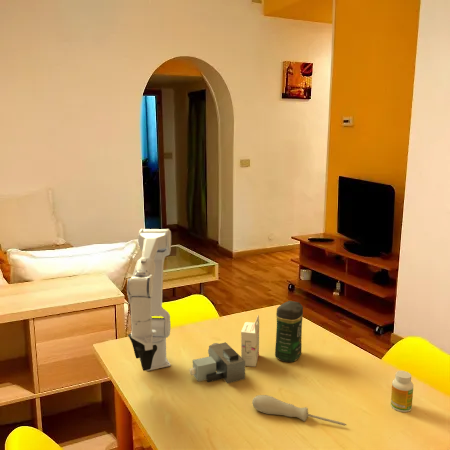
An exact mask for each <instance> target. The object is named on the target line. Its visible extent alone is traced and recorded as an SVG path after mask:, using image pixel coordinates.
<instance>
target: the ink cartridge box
mask: <svg viewBox="0 0 450 450" xmlns="http://www.w3.org/2000/svg"><path fill="white" fill-rule="evenodd" d="M240 343H241V345H240V346H241V349H240V350H241V351H240V352H241V355H240V356H241V357H242V358H243V359H244V360H245V367H256V366H257V363H258V360H259V356H260V316H259V314H258V315H257V316H256V319H255V321H254V322H250V321H245V322H244V324H243V327H242V328H241V331H240Z"/></svg>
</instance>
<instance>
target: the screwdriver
mask: <svg viewBox="0 0 450 450" xmlns="http://www.w3.org/2000/svg"><path fill="white" fill-rule="evenodd" d="M251 401H252V403H251V404H252V406H253V408H254V409H256V411H258V412H261V413H263V414H266V415H278V416H285V417H288V418H292V417H294V418H297V419H300V420H301V421H303V422H306V421H307V419H308V417H309V418H314V419H317V420H320V421H325V422H329V423H333V424H337V425H340V426H345V427H346V426H347V424H346V423H344V422H341V421H338V420H335V419H334V420H333V419H330V418H326V417H322V416H318V415H314V414H310V413H309V408H308V407H307V406H306V407H298V406H295V405H294V404H293V403H292V404H291V403H288V402H285V401H282V400H280V399H278V398H276V397H274V396H271V395H267V394H260V395H259V394H258V395H256V396H254V397H253V398H252V400H251Z"/></svg>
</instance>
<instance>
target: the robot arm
mask: <svg viewBox="0 0 450 450" xmlns="http://www.w3.org/2000/svg"><path fill="white" fill-rule="evenodd" d="M137 238H138V240H137V242H138V246H139V250H140V251H141V257H140V258H138V259H137V260H136V263H135V266H134V269H133V273H132V276H131V277H129V278H128V279H127V283H126V294H127V298H128V304H129V305H130V325H131V327H130V328H131V332H130V333H129V334H127V336H128V338H129V340H130V342H131V345H132V349H133V352H134V356H135V359H137V360H138V359H139V360H140V363H141V364H140V365H141V368H142V371H143V372H144V371H147V372H149V371H153V370H157V369H161V368H167V367H170V366H171V363H170V361H169V360H168V357H167V338H168V337H170V335H171V329H172V328H171V315H170V313H169V312H168V310H166V309H165V308H164V307H163V287H164V283H163V282H164V265H165V260H166V259H165V258H166V257H168V256H169V255H171V252H172V251H171V250H172V231H171V230H170V228H161V229H159V228H151V229H150V228H140V230H139V231H138V235H137Z"/></svg>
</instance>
